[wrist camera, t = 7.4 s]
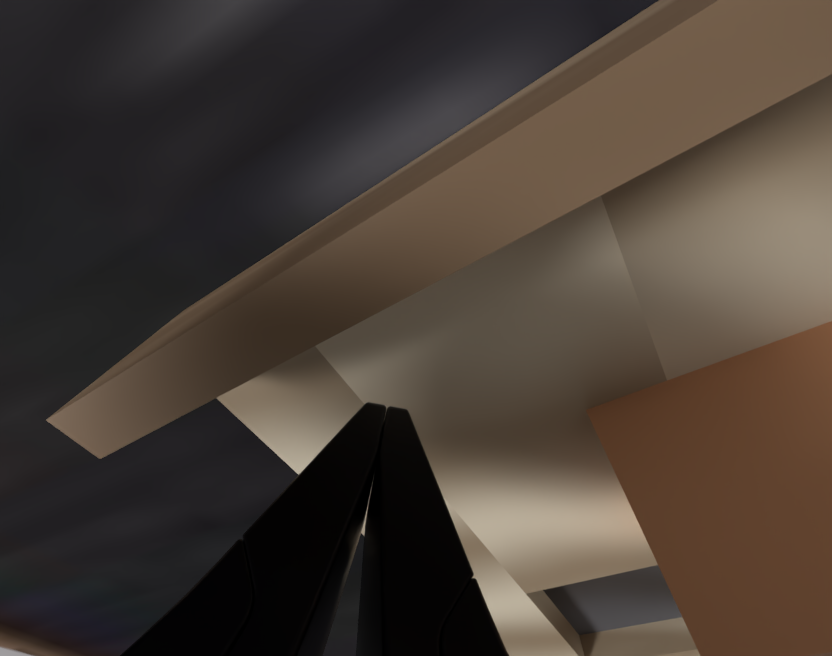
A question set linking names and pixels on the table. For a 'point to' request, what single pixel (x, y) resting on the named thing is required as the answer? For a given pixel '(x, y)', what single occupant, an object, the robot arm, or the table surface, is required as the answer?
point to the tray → (536, 302)
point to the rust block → (737, 493)
